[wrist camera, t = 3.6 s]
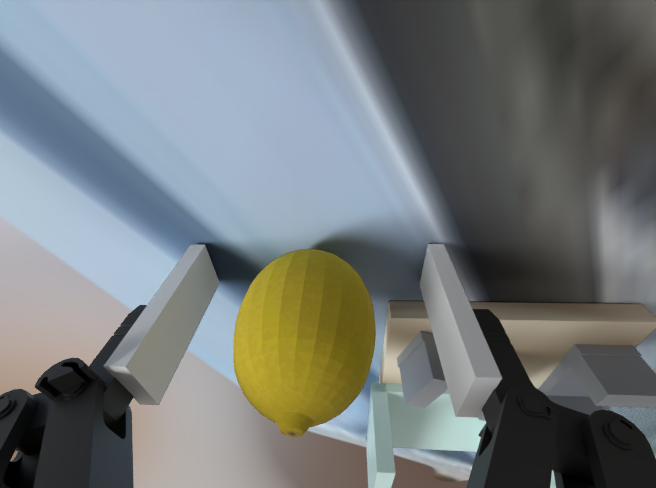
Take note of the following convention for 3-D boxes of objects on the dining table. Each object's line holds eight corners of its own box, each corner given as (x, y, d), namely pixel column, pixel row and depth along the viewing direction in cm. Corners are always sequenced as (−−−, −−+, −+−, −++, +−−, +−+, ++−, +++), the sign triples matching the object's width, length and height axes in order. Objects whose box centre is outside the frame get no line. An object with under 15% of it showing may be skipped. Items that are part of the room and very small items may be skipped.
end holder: (371, 382, 20) (377, 472, 16) (530, 387, 19) (578, 483, 15) (366, 438, 26) (369, 513, 22) (487, 444, 25) (513, 523, 21)
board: (388, 301, 16) (391, 318, 16) (642, 304, 15) (661, 322, 15) (373, 424, 27) (374, 438, 26) (525, 430, 26) (532, 446, 25)
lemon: (391, 251, 14) (426, 432, 8) (330, 309, 17) (319, 475, 11) (295, 194, 13) (242, 364, 6) (245, 269, 16) (175, 436, 9)
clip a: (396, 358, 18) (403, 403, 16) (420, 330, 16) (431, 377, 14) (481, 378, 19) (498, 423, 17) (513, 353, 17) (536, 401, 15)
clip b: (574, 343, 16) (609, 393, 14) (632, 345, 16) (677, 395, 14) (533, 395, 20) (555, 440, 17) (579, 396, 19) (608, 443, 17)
